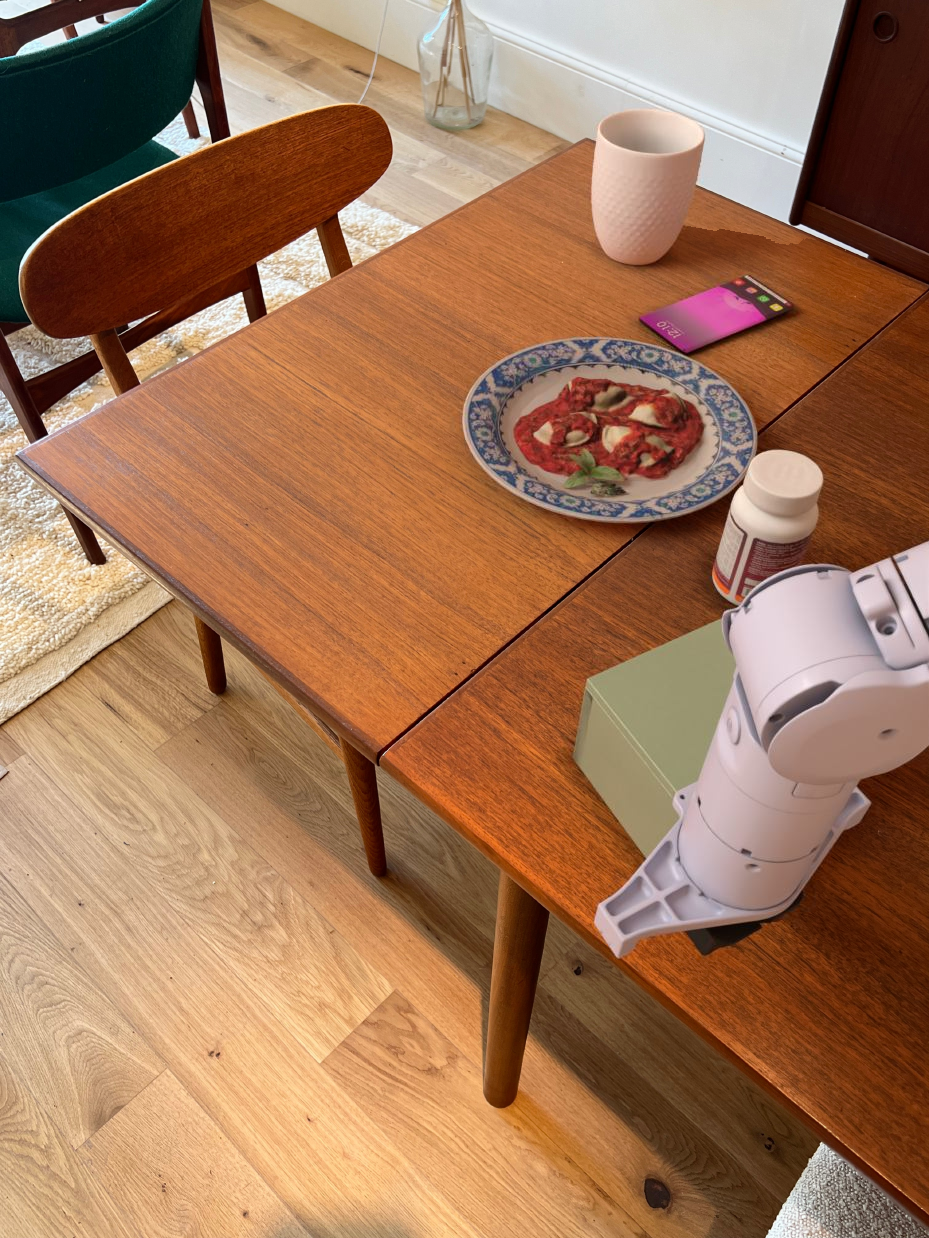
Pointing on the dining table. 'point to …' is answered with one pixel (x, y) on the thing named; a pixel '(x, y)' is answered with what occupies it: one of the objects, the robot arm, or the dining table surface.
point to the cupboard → (654, 728)
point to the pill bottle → (767, 522)
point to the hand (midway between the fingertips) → (701, 934)
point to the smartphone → (716, 314)
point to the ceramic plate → (609, 429)
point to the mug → (643, 182)
